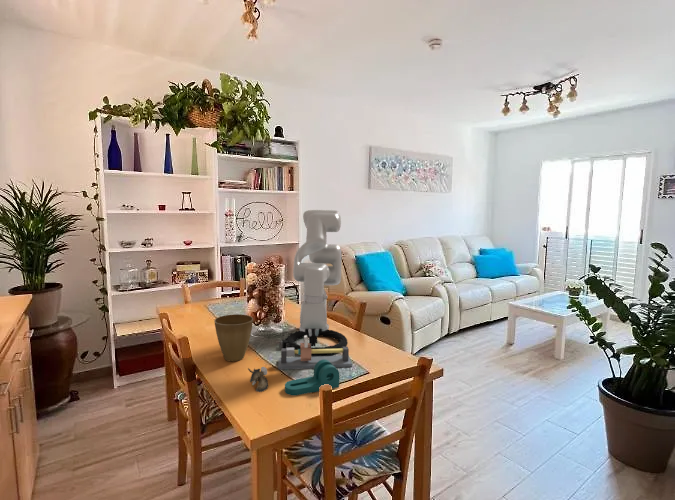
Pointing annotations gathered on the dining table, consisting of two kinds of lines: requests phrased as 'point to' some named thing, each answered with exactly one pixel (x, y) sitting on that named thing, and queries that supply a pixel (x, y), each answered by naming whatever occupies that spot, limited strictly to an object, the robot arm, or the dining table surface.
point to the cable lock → (327, 333)
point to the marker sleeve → (305, 350)
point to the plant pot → (233, 335)
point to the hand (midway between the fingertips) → (313, 345)
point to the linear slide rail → (313, 358)
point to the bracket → (314, 380)
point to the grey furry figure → (259, 378)
